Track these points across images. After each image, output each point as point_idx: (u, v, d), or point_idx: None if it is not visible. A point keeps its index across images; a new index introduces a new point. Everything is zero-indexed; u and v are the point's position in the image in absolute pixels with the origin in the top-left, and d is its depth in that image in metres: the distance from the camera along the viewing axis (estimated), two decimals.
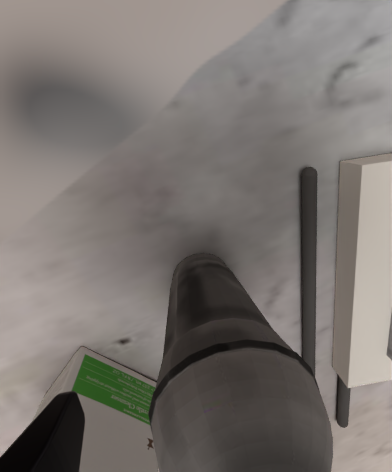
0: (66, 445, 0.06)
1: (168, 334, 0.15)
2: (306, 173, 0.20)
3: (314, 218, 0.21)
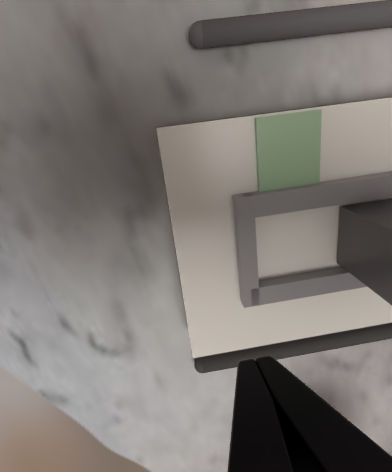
0: None
1: None
2: (200, 372, 0.19)
3: None
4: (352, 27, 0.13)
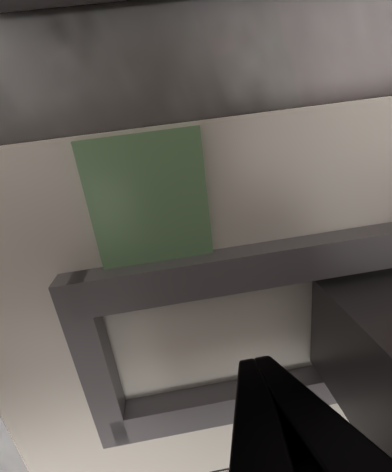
0: None
1: None
2: None
3: None
4: None
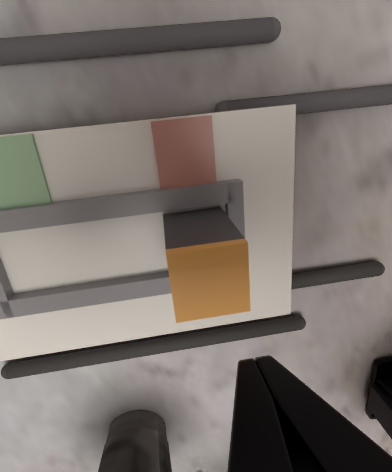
0: None
1: None
2: (6, 378, 0.20)
3: (55, 366, 0.20)
4: (78, 54, 0.14)
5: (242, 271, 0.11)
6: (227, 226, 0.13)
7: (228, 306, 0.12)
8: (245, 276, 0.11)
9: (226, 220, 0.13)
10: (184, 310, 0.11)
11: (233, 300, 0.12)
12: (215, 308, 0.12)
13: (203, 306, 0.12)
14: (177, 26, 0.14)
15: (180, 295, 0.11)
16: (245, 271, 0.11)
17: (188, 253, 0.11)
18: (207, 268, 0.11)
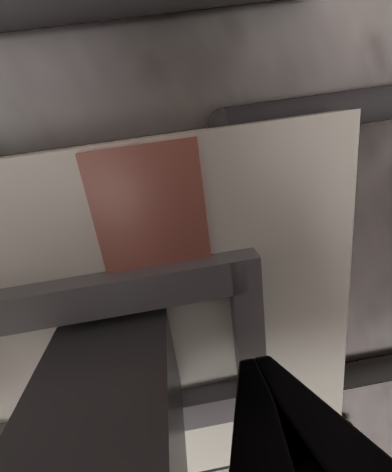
0: None
1: None
2: None
3: None
4: None
5: None
6: (149, 397, 0.06)
7: None
8: None
9: (157, 365, 0.06)
10: None
11: None
12: None
13: None
14: None
15: None
16: None
17: None
18: None
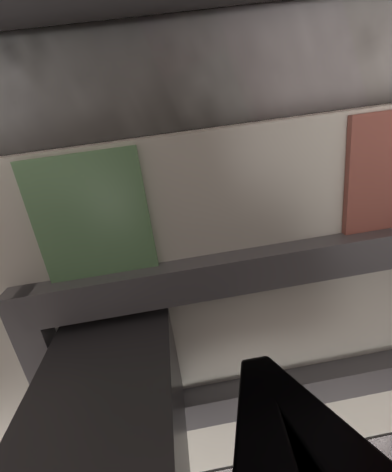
0: None
1: None
2: None
3: None
4: None
5: None
6: (154, 396, 0.06)
7: None
8: None
9: (160, 364, 0.06)
10: None
11: None
12: None
13: None
14: None
15: None
16: None
17: None
18: None
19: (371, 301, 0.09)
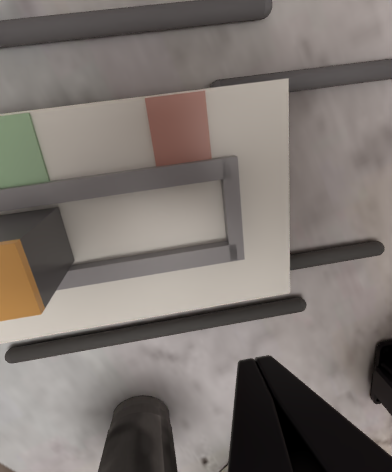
0: None
1: None
2: (10, 362, 0.20)
3: (58, 350, 0.20)
4: (73, 35, 0.14)
5: (18, 273, 0.11)
6: (27, 227, 0.12)
7: (14, 310, 0.11)
8: (23, 278, 0.11)
9: (37, 220, 0.13)
10: None
11: (18, 303, 0.11)
12: (0, 312, 0.11)
13: None
14: (169, 4, 0.14)
15: None
16: (21, 273, 0.11)
17: None
18: None
19: (184, 210, 0.16)
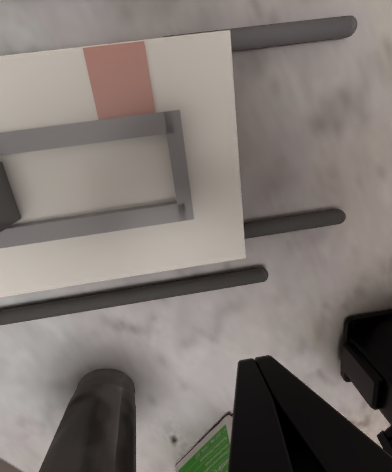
0: None
1: None
2: None
3: (15, 317, 0.20)
4: None
5: None
6: None
7: None
8: None
9: None
10: None
11: None
12: None
13: None
14: None
15: None
16: None
17: None
18: None
19: (131, 168, 0.16)
